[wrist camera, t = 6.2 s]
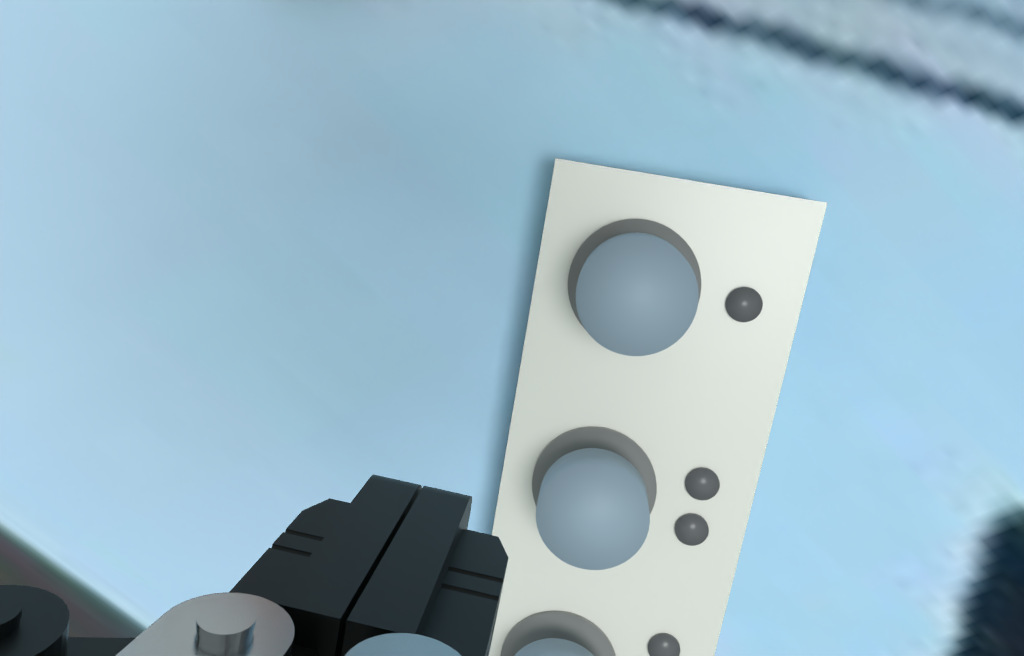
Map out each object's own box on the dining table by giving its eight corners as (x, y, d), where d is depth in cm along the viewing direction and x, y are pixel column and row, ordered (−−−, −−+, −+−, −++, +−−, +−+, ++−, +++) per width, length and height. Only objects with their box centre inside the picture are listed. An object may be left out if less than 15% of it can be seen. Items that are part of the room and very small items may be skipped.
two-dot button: (657, 459, 34) (660, 477, 32) (636, 558, 35) (637, 580, 33) (549, 438, 35) (545, 454, 33) (531, 536, 36) (527, 557, 34)
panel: (809, 200, 36) (829, 203, 32) (678, 736, 42) (684, 782, 39) (559, 159, 37) (555, 158, 33) (469, 688, 43) (458, 729, 40)
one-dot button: (704, 243, 32) (710, 247, 30) (680, 355, 33) (684, 366, 31) (588, 223, 33) (587, 226, 31) (568, 334, 34) (565, 344, 32)
